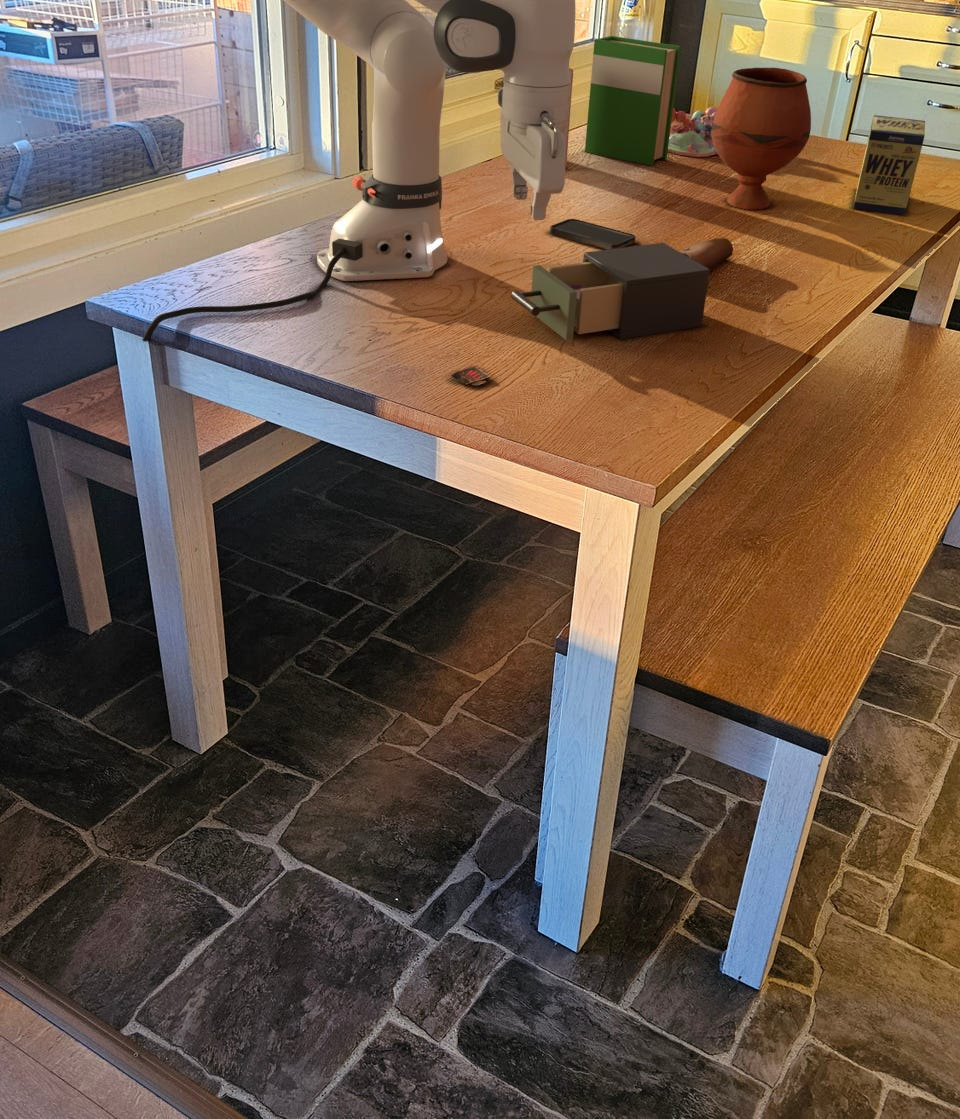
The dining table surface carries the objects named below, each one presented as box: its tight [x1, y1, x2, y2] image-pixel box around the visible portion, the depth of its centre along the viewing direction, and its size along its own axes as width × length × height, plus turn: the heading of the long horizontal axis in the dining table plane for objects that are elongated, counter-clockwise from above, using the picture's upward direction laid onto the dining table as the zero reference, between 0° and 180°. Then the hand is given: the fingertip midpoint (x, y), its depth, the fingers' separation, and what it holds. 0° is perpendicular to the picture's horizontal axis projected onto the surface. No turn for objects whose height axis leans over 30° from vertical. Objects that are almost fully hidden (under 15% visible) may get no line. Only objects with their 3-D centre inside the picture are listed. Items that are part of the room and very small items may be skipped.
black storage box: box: [582, 242, 711, 340], centre depth 168 cm, size 15×13×9 cm
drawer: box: [510, 262, 624, 341], centre depth 164 cm, size 18×12×7 cm, turn 114°
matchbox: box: [450, 366, 491, 387], centre depth 150 cm, size 5×5×1 cm
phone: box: [549, 218, 636, 250], centre depth 202 cm, size 8×1×15 cm
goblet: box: [711, 67, 812, 211], centre depth 217 cm, size 19×19×25 cm
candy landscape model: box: [667, 106, 718, 158], centre depth 260 cm, size 25×24×9 cm
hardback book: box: [584, 35, 682, 166], centre depth 246 cm, size 18×7×24 cm, turn 54°
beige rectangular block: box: [570, 285, 583, 320], centre depth 165 cm, size 7×3×3 cm, turn 25°
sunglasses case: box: [678, 237, 734, 271], centre depth 189 cm, size 18×7×7 cm
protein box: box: [852, 114, 926, 216], centre depth 224 cm, size 10×16×16 cm
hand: (528, 208), depth 153 cm, fingers open, 8 cm apart
